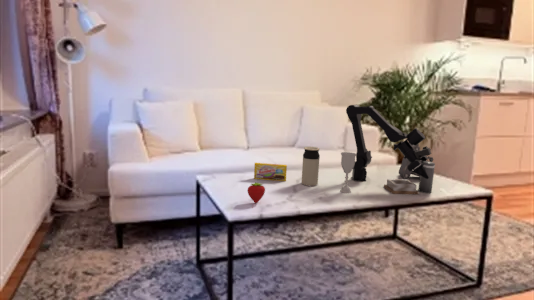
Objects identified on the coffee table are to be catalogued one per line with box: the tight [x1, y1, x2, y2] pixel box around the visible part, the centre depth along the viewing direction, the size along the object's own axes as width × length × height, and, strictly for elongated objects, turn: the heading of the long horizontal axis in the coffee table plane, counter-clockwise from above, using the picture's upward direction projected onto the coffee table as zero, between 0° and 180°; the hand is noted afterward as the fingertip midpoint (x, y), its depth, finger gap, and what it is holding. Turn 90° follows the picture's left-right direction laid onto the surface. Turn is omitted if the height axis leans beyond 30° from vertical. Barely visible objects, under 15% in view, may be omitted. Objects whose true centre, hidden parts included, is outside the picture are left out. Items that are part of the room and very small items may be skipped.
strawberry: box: [247, 179, 266, 204], centre depth 176 cm, size 6×8×10 cm
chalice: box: [339, 151, 357, 194], centre depth 199 cm, size 7×7×18 cm
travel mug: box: [301, 146, 320, 187], centre depth 209 cm, size 8×8×18 cm
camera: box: [398, 143, 434, 180], centre depth 234 cm, size 11×17×20 cm, turn 86°
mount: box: [383, 178, 420, 195], centre depth 206 cm, size 12×12×4 cm
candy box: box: [253, 162, 288, 182], centre depth 216 cm, size 16×2×8 cm, turn 83°
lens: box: [417, 160, 436, 194], centre depth 206 cm, size 6×6×14 cm
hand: (429, 177), depth 206 cm, fingers closed on lens, 6 cm apart
